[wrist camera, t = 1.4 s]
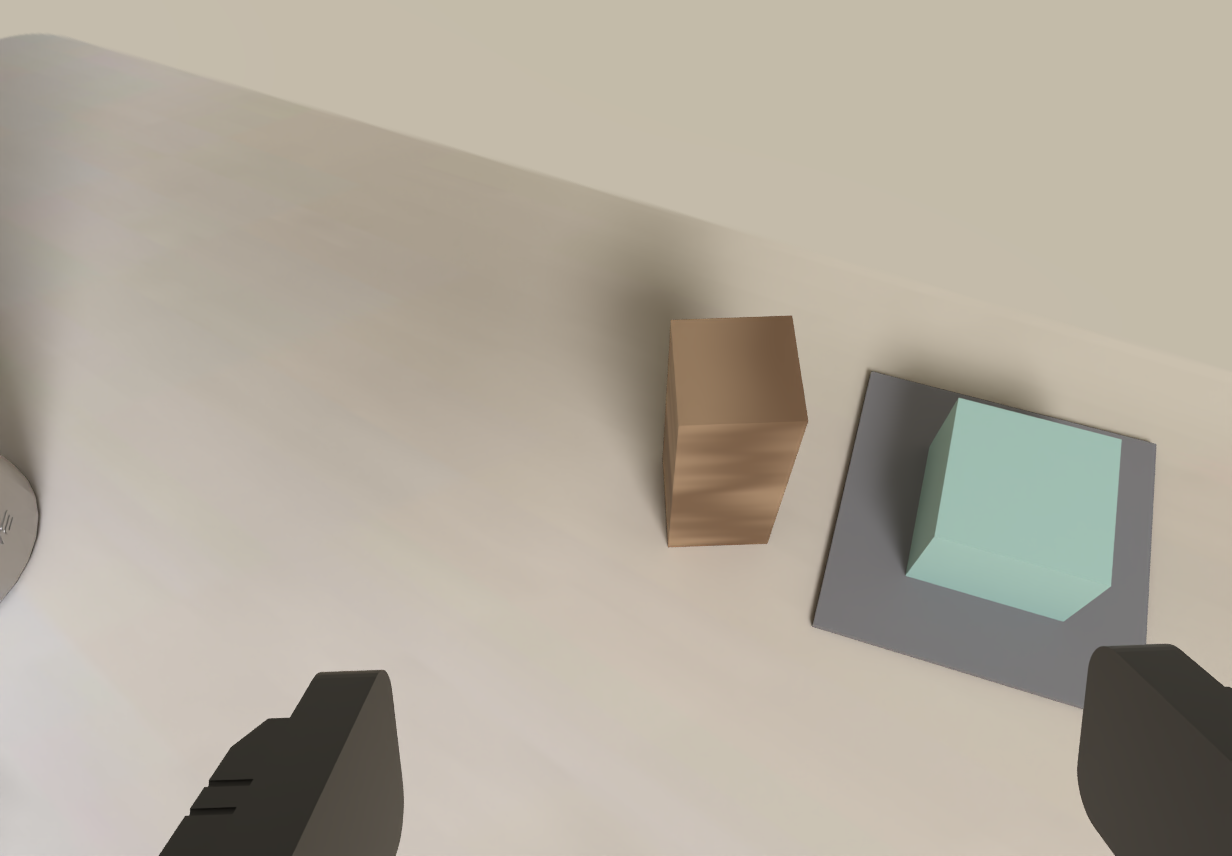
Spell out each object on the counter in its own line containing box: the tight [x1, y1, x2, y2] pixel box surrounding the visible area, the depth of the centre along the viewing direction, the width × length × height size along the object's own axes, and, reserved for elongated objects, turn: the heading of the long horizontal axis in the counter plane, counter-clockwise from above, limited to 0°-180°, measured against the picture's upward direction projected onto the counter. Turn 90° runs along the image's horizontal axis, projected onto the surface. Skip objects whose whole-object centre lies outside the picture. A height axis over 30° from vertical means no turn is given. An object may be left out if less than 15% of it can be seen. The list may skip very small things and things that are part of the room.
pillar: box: [663, 316, 808, 547], centre depth 34 cm, size 4×4×10 cm
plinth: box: [905, 398, 1122, 622], centre depth 35 cm, size 6×6×4 cm
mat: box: [812, 371, 1156, 709], centre depth 37 cm, size 12×12×1 cm
